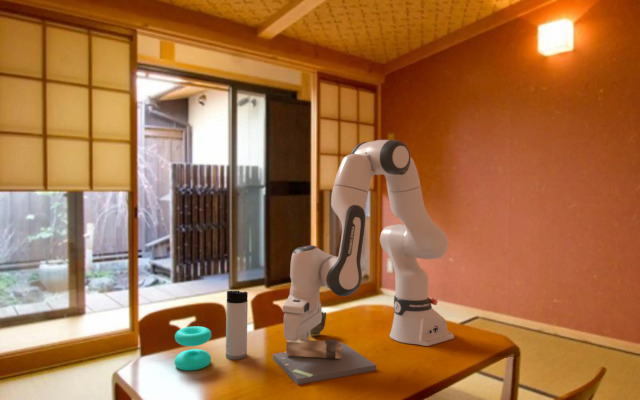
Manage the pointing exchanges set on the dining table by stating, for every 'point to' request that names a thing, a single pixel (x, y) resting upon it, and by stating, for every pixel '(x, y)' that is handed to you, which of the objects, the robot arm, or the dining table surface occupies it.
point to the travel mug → (236, 324)
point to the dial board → (323, 366)
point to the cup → (318, 327)
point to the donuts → (192, 357)
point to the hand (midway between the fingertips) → (304, 346)
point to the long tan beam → (314, 348)
